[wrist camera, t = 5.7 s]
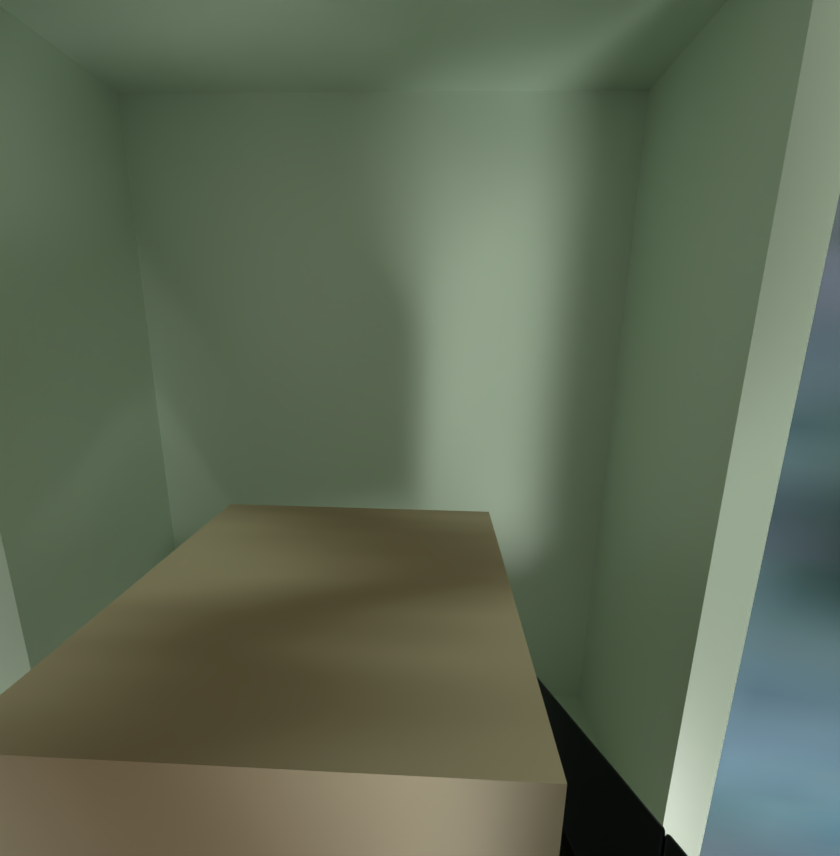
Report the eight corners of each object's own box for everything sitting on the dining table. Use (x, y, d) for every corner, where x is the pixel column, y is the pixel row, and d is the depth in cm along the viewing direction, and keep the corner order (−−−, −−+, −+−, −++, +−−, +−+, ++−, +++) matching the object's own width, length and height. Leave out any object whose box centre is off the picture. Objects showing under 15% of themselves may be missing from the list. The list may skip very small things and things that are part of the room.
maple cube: (489, 511, 8) (567, 783, 3) (477, 727, 9) (523, 1175, 4) (230, 504, 8) (-68, 750, 3) (249, 716, 9) (45, 1135, 4)
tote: (597, 705, 14) (687, 916, 9) (178, 687, 14) (41, 876, 9) (679, 61, 10) (925, -214, 5) (95, 66, 10) (-221, -180, 5)
